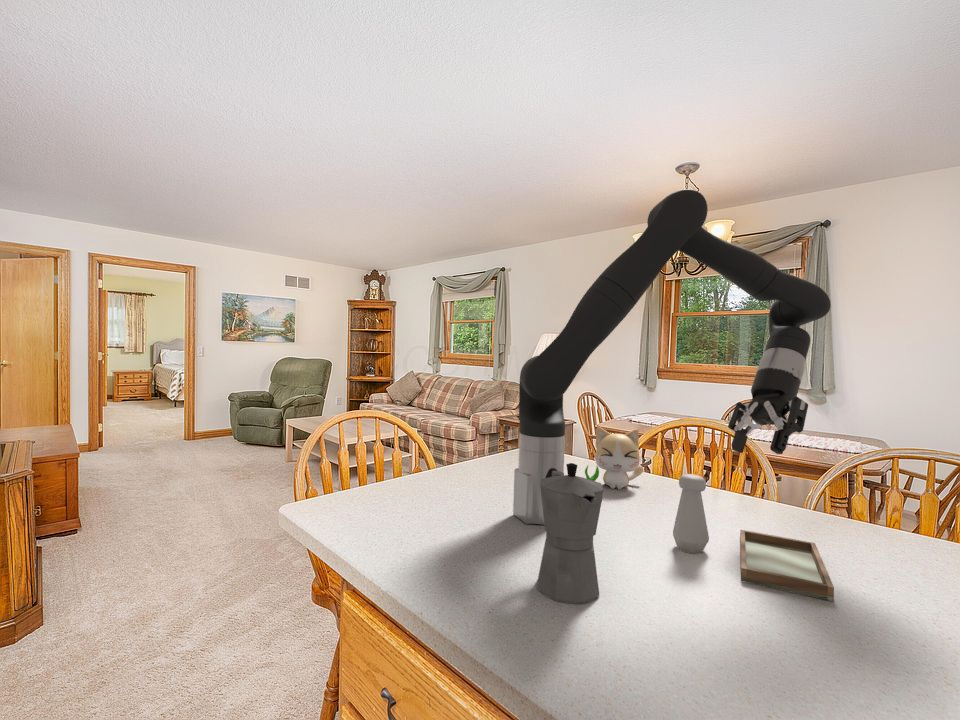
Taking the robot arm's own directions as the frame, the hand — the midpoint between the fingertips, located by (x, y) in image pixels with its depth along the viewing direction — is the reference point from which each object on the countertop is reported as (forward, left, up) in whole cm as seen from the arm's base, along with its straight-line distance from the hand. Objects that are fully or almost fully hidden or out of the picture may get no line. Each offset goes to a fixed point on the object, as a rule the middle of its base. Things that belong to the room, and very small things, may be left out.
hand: (755, 451), depth 87 cm
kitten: (-2, +38, -17) cm, 41 cm away
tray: (-5, -9, -17) cm, 20 cm away
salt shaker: (-14, +1, -17) cm, 22 cm away
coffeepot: (-42, -3, -17) cm, 46 cm away
